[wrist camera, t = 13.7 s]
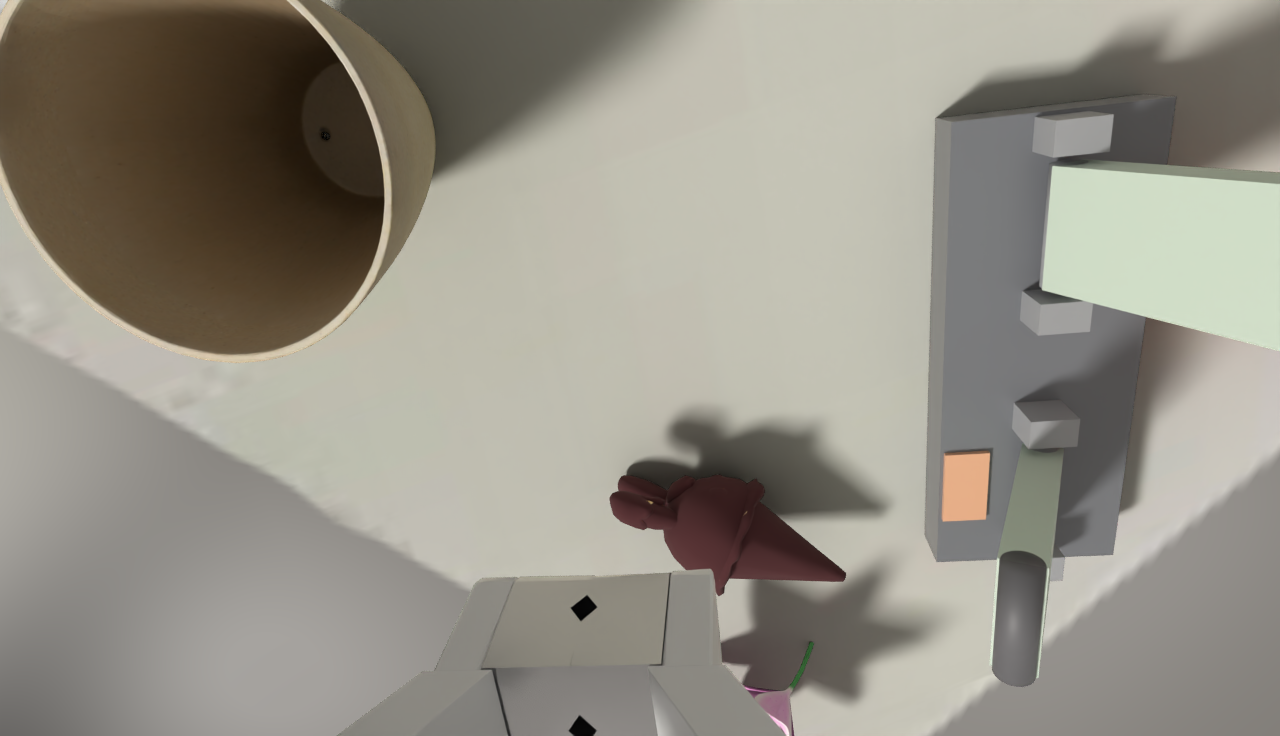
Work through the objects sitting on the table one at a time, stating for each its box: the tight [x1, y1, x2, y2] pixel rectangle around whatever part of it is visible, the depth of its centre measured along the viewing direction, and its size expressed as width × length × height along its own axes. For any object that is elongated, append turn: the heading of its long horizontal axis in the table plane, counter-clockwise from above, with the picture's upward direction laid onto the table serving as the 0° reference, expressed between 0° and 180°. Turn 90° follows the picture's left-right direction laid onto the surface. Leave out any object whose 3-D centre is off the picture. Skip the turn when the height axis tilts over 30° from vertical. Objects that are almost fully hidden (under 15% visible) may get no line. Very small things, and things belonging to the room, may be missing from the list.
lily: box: [743, 642, 814, 736], centre depth 50 cm, size 12×12×10 cm
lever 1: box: [990, 443, 1064, 687], centre depth 37 cm, size 6×2×13 cm, turn 7°
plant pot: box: [0, 0, 436, 363], centre depth 34 cm, size 15×15×16 cm
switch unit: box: [925, 94, 1176, 581], centre depth 40 cm, size 26×10×5 cm, turn 7°
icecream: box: [610, 474, 846, 596], centre depth 45 cm, size 7×7×15 cm
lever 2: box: [1039, 159, 1280, 351], centre depth 31 cm, size 6×2×13 cm, turn 7°
